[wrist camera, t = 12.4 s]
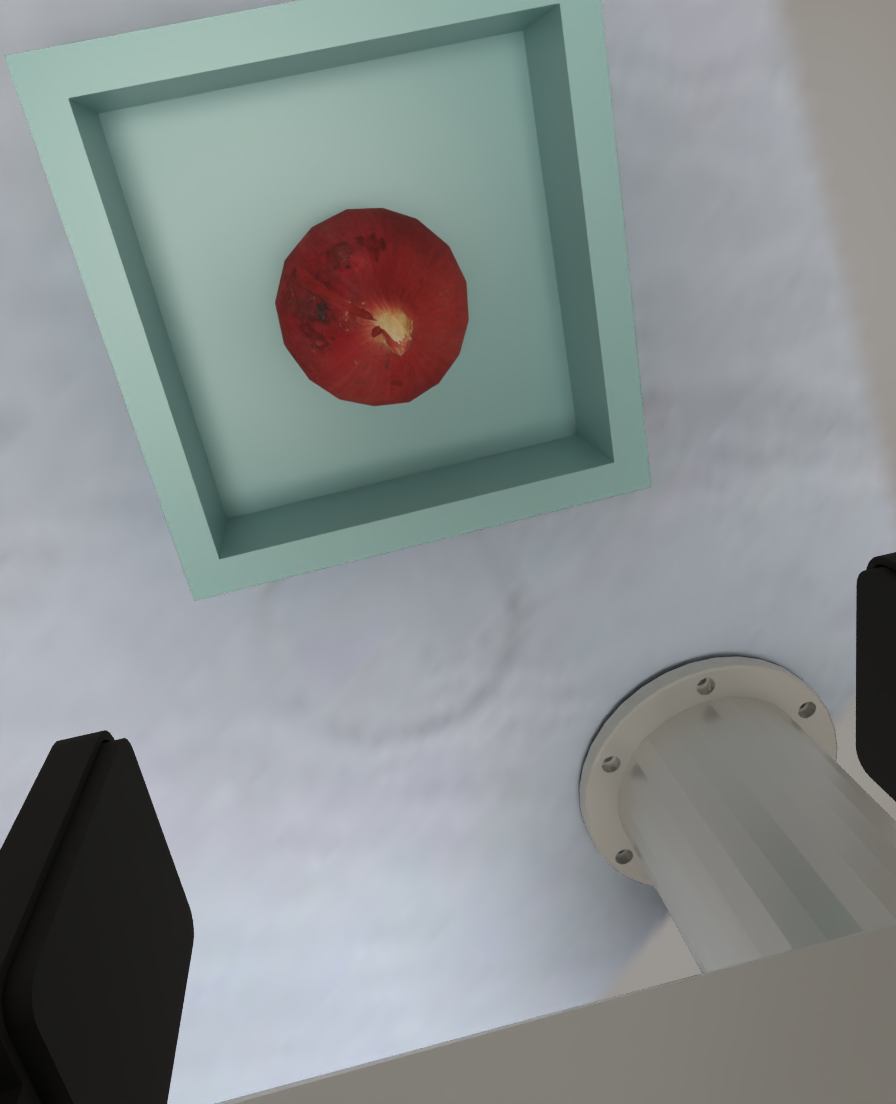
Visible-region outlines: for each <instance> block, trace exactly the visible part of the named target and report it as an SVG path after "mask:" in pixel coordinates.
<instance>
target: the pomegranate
mask: <svg viewBox="0 0 896 1104" xmlns="http://www.w3.org/2000/svg"><path fill="white" fill-rule="evenodd" d="M275 305H276V310H277V314H278V319H279V324H280V328H281V333H282V338H283V342H284V345H285V347H286V348H287V350H288V351H289V352H290V354H291V355H292V357H293V358H294V359H295V361H296V362H297V364H298V365H299V366H300V368H301V369H302V370H303V372H304V373H305V375H306V376H307V377H308V379H309V380H310V381H312V382H313V383H315V384H317V385H318V386H320V387H321V388H323V389H324V390H326V391H327V392H329V393H330V394H332V395H333V396H335V397H336V398H338V399H339V400H344V401H349V402H354V403H359V404H364V405H369V406H382V405H391V404H400V403H409V402H411V401H412V400H414V399H415V398H417V397H418V396H420V395H422V394H423V393H425V392H426V391H428V390H429V389H431V388H432V387H434V386H435V385H437V384H439V383H440V381H441V380H442V378H443V377H444V376H445V374H446V373H447V371H448V370H449V369H450V367H451V366H452V364H453V363H454V362H455V360H456V359H457V357H458V356H459V355H460V351H461V347H462V343H463V340H464V336H465V332H466V329H467V325H468V321H469V314H468V298H467V282H466V280H465V278H464V276H463V273H462V271H461V269H460V267H459V265H458V263H457V261H456V259H455V257H454V255H453V253H452V251H451V249H450V247H449V245H447V244H446V243H445V242H444V241H443V240H442V239H440V238H439V237H438V236H437V235H436V234H434V233H433V232H432V231H431V230H430V229H429V228H427V227H426V226H425V225H424V224H423V223H422V222H420V221H419V220H418V219H416V218H413V217H410V216H407V215H404V214H401V213H398V212H394V211H391V210H388V209H385V208H365V209H346V210H344V211H342V212H340V213H338V214H336V215H334V216H332V217H330V218H328V219H327V220H325V221H323V222H321V223H319V224H317V225H315V226H313V227H311V228H310V230H309V231H308V232H307V233H306V235H305V236H304V237H303V238H302V239H301V241H300V242H299V243H298V244H297V246H296V247H295V248H294V249H293V251H292V252H291V253H290V254H289V255H288V257H287V258H286V259H285V261H284V265H283V270H282V274H281V278H280V283H279V287H278V292H277V296H276V300H275Z"/></svg>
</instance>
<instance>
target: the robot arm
mask: <svg viewBox="0 0 896 1104" xmlns="http://www.w3.org/2000/svg"><path fill="white" fill-rule="evenodd" d="M856 751H857V755H858V758H859V761H860V763H861V765H862V767H863V769H864V770H865V772H866V773H867V774H868V775H869V776H870V777H871V778H872V779H873V780H874V781H875V782H876V783H877V784H878V785H879V786H880V787H881V788H882V789H883V790H884V791H885V792H886V793H887V794H889V796H891V797H892V798H893V799H894V800H895V801H896V552H895V553H890V554H886V555H882V556H877V557H874V558H873V559H872V560H870V562H869V564H868V566H867V570H865V571H862V572H861V573H860V574H859V576H858V579H857V612H856ZM836 757H837V742H836V734H835V728H834V725H833V722H832V720H831V717H830V714H829V712H828V710H827V708H826V707H825V705H824V704H823V703H822V701H821V700H820V698H819V697H818V695H817V694H816V693H815V692H814V691H813V690H812V689H811V688H809V687H808V686H807V685H806V684H805V683H804V682H803V681H802V680H801V679H800V678H798V677H797V676H795V675H794V674H792V673H791V672H789V671H788V670H786V669H785V668H783V667H781V666H778V665H775V664H773V663H770V662H767V661H764V660H761V659H754V658H747V657H740V656H738V657H717V658H711V659H706V660H702V661H697V662H693V663H689V664H686V665H684V666H682V667H679V668H677V669H674V670H672V671H669V672H667V673H664V674H663V675H661V676H659V677H658V678H656V679H654V680H653V681H651V682H649V683H648V684H646V685H644V686H643V687H641V688H640V689H639V690H638V691H637V692H635V693H634V694H633V695H632V696H630V697H629V698H628V699H627V700H626V701H624V702H623V703H622V704H621V705H620V706H619V707H618V709H617V710H616V711H615V712H614V713H613V714H612V715H611V717H610V718H609V719H608V720H607V721H606V722H605V723H604V725H603V727H602V728H601V730H600V732H599V733H598V735H597V736H596V738H595V740H594V741H593V743H592V745H591V747H590V750H589V752H588V755H587V758H586V760H585V763H584V765H583V770H582V775H581V781H580V787H579V792H580V809H581V813H582V816H583V820H584V823H585V827H586V829H587V831H588V833H589V835H590V837H591V839H592V841H593V843H594V845H595V847H596V848H597V850H598V851H599V852H600V854H601V855H602V856H603V858H604V859H605V860H606V861H607V863H609V864H610V865H611V866H612V867H614V868H615V869H616V870H617V871H619V872H620V873H621V874H622V875H624V876H627V877H629V878H631V879H633V880H635V881H637V882H639V883H642V884H646V885H650V886H654V887H655V888H656V890H657V891H658V893H659V895H660V897H661V899H662V901H663V902H664V904H665V906H666V908H667V910H668V911H669V913H670V915H671V917H672V919H673V921H674V922H675V924H676V926H677V928H678V930H679V931H680V933H681V935H682V937H683V939H684V941H685V942H686V944H687V946H688V948H689V950H690V952H691V953H692V955H693V957H694V959H695V961H696V962H697V964H698V966H699V968H700V970H701V972H702V974H699V975H695V976H691V977H688V978H684V979H680V980H676V981H672V982H668V983H665V984H661V985H657V986H653V987H649V988H646V989H642V990H639V991H634V992H630V993H627V994H623V995H619V996H615V997H612V998H608V999H604V1000H600V1001H596V1002H593V1003H589V1004H585V1005H581V1006H577V1007H574V1008H570V1009H566V1010H562V1011H559V1012H555V1013H551V1014H547V1015H544V1016H540V1017H536V1018H532V1019H529V1020H525V1021H521V1022H517V1023H514V1024H510V1025H506V1026H502V1027H499V1028H495V1029H491V1030H487V1031H484V1032H480V1033H476V1034H472V1035H469V1036H465V1037H461V1038H458V1039H454V1040H450V1041H446V1042H443V1043H439V1044H435V1045H432V1046H428V1047H424V1048H420V1049H417V1050H413V1051H409V1052H406V1053H402V1054H398V1055H394V1056H391V1057H387V1058H383V1059H380V1060H376V1061H372V1062H368V1063H365V1064H361V1065H357V1066H354V1067H350V1068H346V1069H342V1070H339V1071H335V1072H331V1073H328V1074H324V1075H320V1076H316V1077H313V1078H309V1079H305V1080H302V1081H298V1082H294V1083H290V1084H287V1085H283V1086H279V1087H275V1088H272V1089H268V1090H264V1091H261V1092H257V1093H253V1094H249V1095H246V1096H242V1097H238V1098H235V1099H231V1100H227V1101H223V1102H220V1103H216V1104H896V821H895V820H894V819H893V818H891V817H890V815H889V814H887V812H885V810H884V809H883V808H882V807H880V805H879V804H877V803H876V802H875V801H874V799H872V798H871V797H870V796H869V795H868V794H867V793H866V792H865V791H864V790H863V789H862V788H861V787H860V786H859V785H858V784H857V783H856V782H855V781H854V780H853V779H852V778H851V777H850V776H849V775H848V774H847V773H846V772H845V771H844V770H843V769H842V768H841V767H840V766H839V765H838V764H837V763H836ZM193 940H194V927H193V919H192V914H191V910H190V907H189V904H188V901H187V898H186V896H185V893H184V890H183V887H182V885H181V882H180V879H179V876H178V873H177V871H176V868H175V865H174V862H173V859H172V857H171V854H170V851H169V848H168V846H167V843H166V840H165V837H164V834H163V832H162V829H161V826H160V823H159V820H158V818H157V815H156V812H155V809H154V807H153V804H152V801H151V798H150V795H149V793H148V790H147V787H146V784H145V781H144V779H143V776H142V773H141V770H140V768H139V765H138V762H137V759H136V756H135V754H134V751H133V748H132V746H131V744H130V743H129V741H128V740H127V739H125V738H123V739H119V740H114V738H113V737H112V735H111V734H110V733H109V732H108V731H106V730H104V731H100V732H96V733H91V734H87V735H82V736H78V737H73V738H69V739H65V740H60V741H56V743H55V744H54V745H53V746H52V748H51V750H50V752H49V754H48V756H47V758H46V760H45V762H44V764H43V766H42V768H41V770H40V772H39V774H38V776H37V778H36V780H35V782H34V784H33V786H32V788H31V790H30V792H29V794H28V796H27V798H26V800H25V802H24V804H23V806H22V808H21V810H20V812H19V814H18V816H17V818H16V820H15V822H14V824H13V826H12V828H11V830H10V832H9V834H8V836H7V838H6V840H5V842H4V844H3V846H2V848H1V850H0V1104H167V1100H168V1094H169V1088H170V1082H171V1076H172V1070H173V1064H174V1058H175V1051H176V1045H177V1039H178V1033H179V1027H180V1021H181V1015H182V1009H183V1003H184V996H185V990H186V984H187V978H188V972H189V966H190V960H191V954H192V948H193Z"/></svg>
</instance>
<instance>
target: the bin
mask: <svg viewBox="0 0 896 1104" xmlns="http://www.w3.org/2000/svg"><path fill="white" fill-rule="evenodd" d="M5 59H6V62H7V65H8V68H9V71H10V74H11V76H12V79H13V82H14V85H15V88H16V91H17V94H18V97H19V99H20V102H21V105H22V108H23V111H24V114H25V117H26V120H27V122H28V125H29V128H30V131H31V134H32V137H33V140H34V143H35V145H36V148H37V151H38V154H39V157H40V160H41V163H42V166H43V168H44V171H45V174H46V177H47V180H48V183H49V186H50V188H51V191H52V194H53V197H54V200H55V203H56V206H57V209H58V211H59V214H60V217H61V220H62V223H63V226H64V229H65V232H66V234H67V237H68V240H69V243H70V246H71V249H72V252H73V255H74V257H75V260H76V263H77V266H78V269H79V272H80V275H81V278H82V280H83V283H84V286H85V289H86V292H87V295H88V298H89V300H90V303H91V306H92V309H93V312H94V315H95V318H96V321H97V323H98V326H99V329H100V332H101V335H102V338H103V341H104V344H105V346H106V349H107V352H108V355H109V358H110V361H111V364H112V367H113V369H114V372H115V375H116V378H117V381H118V384H119V387H120V390H121V392H122V395H123V398H124V401H125V404H126V407H127V410H128V413H129V415H130V418H131V421H132V424H133V427H134V430H135V433H136V435H137V438H138V441H139V444H140V447H141V450H142V453H143V456H144V458H145V461H146V464H147V467H148V470H149V473H150V476H151V479H152V481H153V484H154V487H155V490H156V493H157V496H158V499H159V502H160V504H161V507H162V510H163V513H164V516H165V519H166V522H167V525H168V527H169V530H170V533H171V536H172V539H173V542H174V545H175V547H176V550H177V553H178V556H179V559H180V562H181V565H182V568H183V570H184V573H185V576H186V579H187V582H188V585H189V588H190V591H191V593H192V596H193V599H194V601H195V600H199V599H203V598H207V597H211V596H215V595H219V594H223V593H227V592H231V591H235V590H239V589H243V588H247V587H251V586H255V585H259V584H263V583H267V582H271V581H275V580H280V579H284V578H288V577H292V576H296V575H300V574H304V573H308V572H312V571H316V570H320V569H324V568H328V567H332V566H336V565H340V564H344V563H348V562H352V561H356V560H360V559H364V558H368V557H372V556H376V555H380V554H384V553H388V552H392V551H396V550H400V549H404V548H408V547H412V546H416V545H420V544H424V543H428V542H432V541H436V540H440V539H444V538H448V537H452V536H456V535H460V534H464V533H469V532H473V531H477V530H481V529H485V528H489V527H493V526H497V525H501V524H505V523H509V522H513V521H517V520H521V519H525V518H529V517H533V516H537V515H541V514H545V513H549V512H553V511H557V510H561V509H565V508H569V507H573V506H577V505H581V504H585V503H589V502H593V501H597V500H601V499H605V498H609V497H613V496H617V495H621V494H625V493H629V492H633V491H637V490H641V489H645V488H649V487H651V481H650V472H649V462H648V452H647V442H646V433H645V423H644V413H643V403H642V393H641V384H640V374H639V364H638V354H637V345H636V335H635V325H634V315H633V306H632V296H631V286H630V276H629V266H628V257H627V247H626V237H625V227H624V218H623V208H622V198H621V188H620V179H619V169H618V159H617V149H616V139H615V130H614V120H613V110H612V100H611V91H610V81H609V71H608V61H607V52H606V42H605V32H604V22H603V12H602V3H601V0H298V1H293V2H287V3H282V4H277V5H271V6H266V7H261V8H255V9H250V10H245V11H239V12H234V13H229V14H223V15H218V16H213V17H207V18H202V19H197V20H191V21H186V22H181V23H176V24H170V25H165V26H160V27H154V28H149V29H144V30H138V31H133V32H128V33H122V34H117V35H112V36H106V37H101V38H96V39H90V40H85V41H80V42H74V43H69V44H64V45H58V46H53V47H48V48H43V49H37V50H32V51H27V52H21V53H16V54H11V55H5ZM365 208H385V209H388V210H391V211H394V212H398V213H401V214H404V215H407V216H410V217H413V218H416V219H418V220H419V221H420V222H422V223H423V224H424V225H425V226H426V227H427V228H429V229H430V230H431V231H432V232H433V233H434V234H436V235H437V236H438V237H439V238H440V239H442V240H443V241H444V242H445V243H446V244H447V245H449V247H450V249H451V251H452V253H453V255H454V257H455V259H456V261H457V263H458V265H459V267H460V269H461V271H462V273H463V276H464V278H465V280H466V282H467V298H468V314H469V321H468V325H467V329H466V332H465V336H464V340H463V343H462V347H461V351H460V355H459V356H458V357H457V359H456V360H455V362H454V363H453V364H452V366H451V367H450V369H449V370H448V371H447V373H446V374H445V376H444V377H443V378H442V380H441V381H440V383H439V384H437V385H435V386H434V387H432V388H431V389H429V390H428V391H426V392H425V393H423V394H422V395H420V396H418V397H417V398H415V399H414V400H412V401H411V402H409V403H400V404H391V405H382V406H369V405H364V404H359V403H354V402H349V401H344V400H339V399H338V398H336V397H335V396H333V395H332V394H330V393H329V392H327V391H326V390H324V389H323V388H321V387H320V386H318V385H317V384H315V383H313V382H312V381H310V380H309V379H308V377H307V376H306V375H305V373H304V372H303V370H302V369H301V368H300V366H299V365H298V364H297V362H296V361H295V359H294V358H293V357H292V355H291V354H290V352H289V351H288V350H287V348H286V347H285V345H284V342H283V338H282V333H281V328H280V324H279V319H278V314H277V310H276V305H275V300H276V296H277V292H278V287H279V283H280V278H281V274H282V270H283V265H284V261H285V259H286V258H287V257H288V255H289V254H290V253H291V252H292V251H293V249H294V248H295V247H296V246H297V244H298V243H299V242H300V241H301V239H302V238H303V237H304V236H305V235H306V233H307V232H308V231H309V230H310V228H311V227H313V226H315V225H317V224H319V223H321V222H323V221H325V220H327V219H328V218H330V217H332V216H334V215H336V214H338V213H340V212H342V211H344V210H346V209H365Z"/></svg>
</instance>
